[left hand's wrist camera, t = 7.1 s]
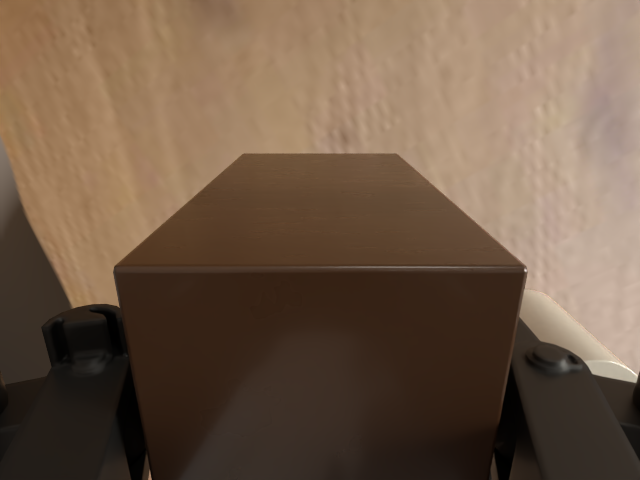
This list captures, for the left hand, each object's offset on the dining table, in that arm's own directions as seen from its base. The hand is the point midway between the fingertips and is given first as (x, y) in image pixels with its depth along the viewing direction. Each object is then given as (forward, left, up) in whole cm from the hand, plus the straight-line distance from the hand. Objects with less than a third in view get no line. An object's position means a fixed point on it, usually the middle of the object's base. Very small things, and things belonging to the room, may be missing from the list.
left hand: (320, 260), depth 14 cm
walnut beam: (+10, 0, -1) cm, 10 cm away
